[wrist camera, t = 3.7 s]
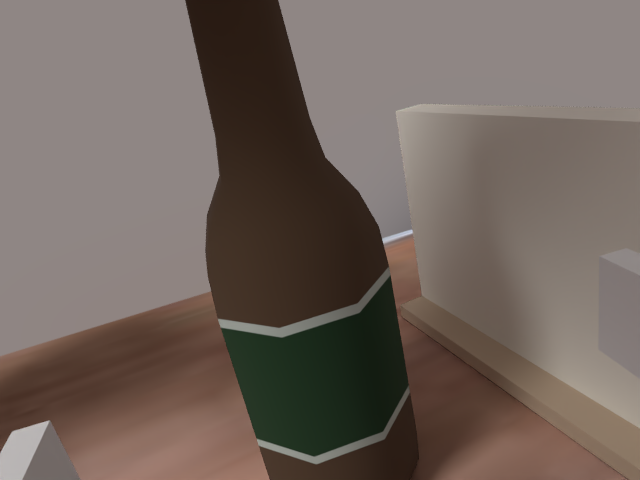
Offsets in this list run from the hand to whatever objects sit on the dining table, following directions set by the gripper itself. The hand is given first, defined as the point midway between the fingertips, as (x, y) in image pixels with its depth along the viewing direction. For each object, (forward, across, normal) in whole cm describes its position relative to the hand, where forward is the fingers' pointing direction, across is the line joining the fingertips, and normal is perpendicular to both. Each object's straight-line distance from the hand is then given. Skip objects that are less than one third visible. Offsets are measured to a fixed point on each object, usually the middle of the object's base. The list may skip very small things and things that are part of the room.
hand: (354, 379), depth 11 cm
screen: (+12, +13, -12) cm, 22 cm away
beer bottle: (+10, 0, -13) cm, 16 cm away
